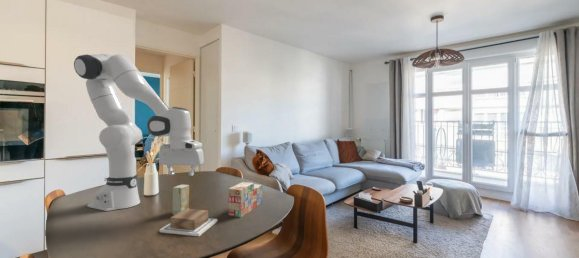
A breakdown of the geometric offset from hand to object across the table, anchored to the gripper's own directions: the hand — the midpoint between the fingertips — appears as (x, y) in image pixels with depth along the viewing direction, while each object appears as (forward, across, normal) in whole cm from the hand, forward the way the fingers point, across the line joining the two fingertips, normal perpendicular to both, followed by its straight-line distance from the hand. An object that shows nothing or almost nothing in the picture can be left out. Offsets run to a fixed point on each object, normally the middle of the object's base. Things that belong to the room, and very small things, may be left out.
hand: (181, 175), depth 114 cm
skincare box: (+17, -1, 0) cm, 17 cm away
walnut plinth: (+17, +11, -12) cm, 24 cm away
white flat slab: (+17, +11, -12) cm, 24 cm away
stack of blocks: (+18, +26, +12) cm, 34 cm away
